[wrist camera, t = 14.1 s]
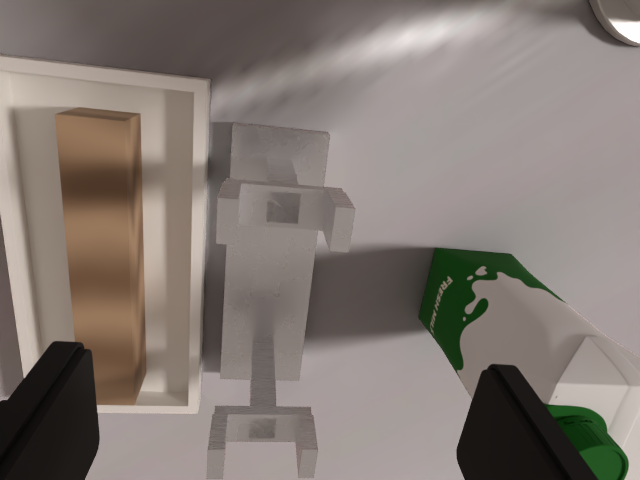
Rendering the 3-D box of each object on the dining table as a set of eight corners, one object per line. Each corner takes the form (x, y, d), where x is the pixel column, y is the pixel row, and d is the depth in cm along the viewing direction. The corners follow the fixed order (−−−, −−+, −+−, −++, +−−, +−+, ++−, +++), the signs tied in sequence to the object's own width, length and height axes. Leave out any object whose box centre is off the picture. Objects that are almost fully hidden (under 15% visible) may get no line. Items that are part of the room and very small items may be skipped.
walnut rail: (79, 107, 31) (54, 114, 27) (140, 113, 32) (124, 121, 28) (97, 371, 39) (80, 404, 35) (146, 372, 40) (134, 405, 36)
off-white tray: (-2, 53, 30) (-23, 53, 28) (210, 78, 32) (206, 80, 30) (41, 392, 40) (28, 412, 38) (201, 394, 42) (197, 413, 40)
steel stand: (233, 122, 33) (216, 160, 21) (327, 132, 34) (362, 174, 22) (221, 370, 41) (204, 499, 29) (298, 372, 42) (312, 497, 30)
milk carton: (427, 236, 39) (577, 403, 20) (525, 245, 40) (748, 408, 22) (406, 325, 42) (519, 539, 23) (497, 330, 43) (672, 536, 25)
